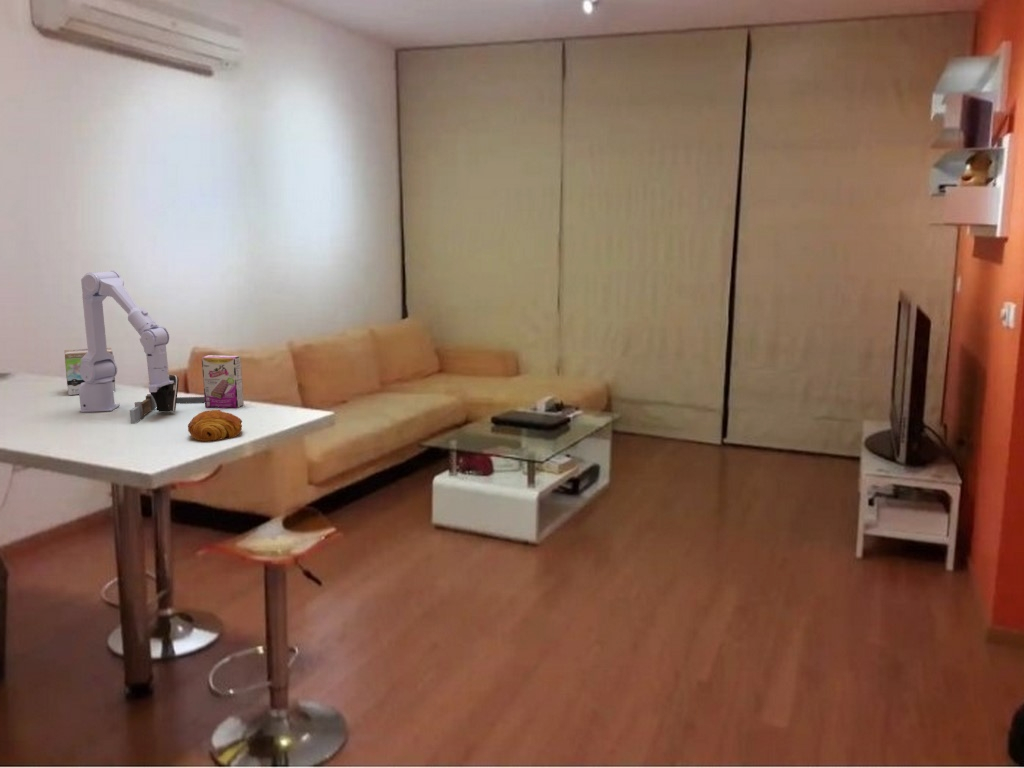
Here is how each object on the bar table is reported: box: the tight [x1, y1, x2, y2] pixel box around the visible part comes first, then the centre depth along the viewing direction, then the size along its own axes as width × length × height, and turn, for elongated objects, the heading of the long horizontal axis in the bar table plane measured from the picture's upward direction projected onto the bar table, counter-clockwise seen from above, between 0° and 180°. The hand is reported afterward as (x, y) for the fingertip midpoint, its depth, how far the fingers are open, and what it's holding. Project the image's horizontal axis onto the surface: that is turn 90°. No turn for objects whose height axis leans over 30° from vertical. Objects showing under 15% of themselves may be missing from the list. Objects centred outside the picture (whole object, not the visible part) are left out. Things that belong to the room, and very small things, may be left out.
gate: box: [141, 395, 153, 417], centre depth 265 cm, size 2×9×4 cm, turn 6°
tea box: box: [64, 347, 116, 396], centre depth 299 cm, size 15×10×15 cm
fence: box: [129, 393, 157, 424], centre depth 265 cm, size 2×25×5 cm, turn 6°
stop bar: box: [176, 396, 205, 404], centre depth 281 cm, size 16×2×2 cm, turn 96°
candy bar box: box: [201, 354, 245, 409], centre depth 274 cm, size 11×5×16 cm, turn 84°
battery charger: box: [155, 374, 180, 413], centre depth 266 cm, size 7×4×11 cm, turn 55°
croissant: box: [187, 409, 243, 442], centre depth 239 cm, size 14×16×8 cm
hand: (162, 411), depth 263 cm, fingers closed, pressing on battery charger
